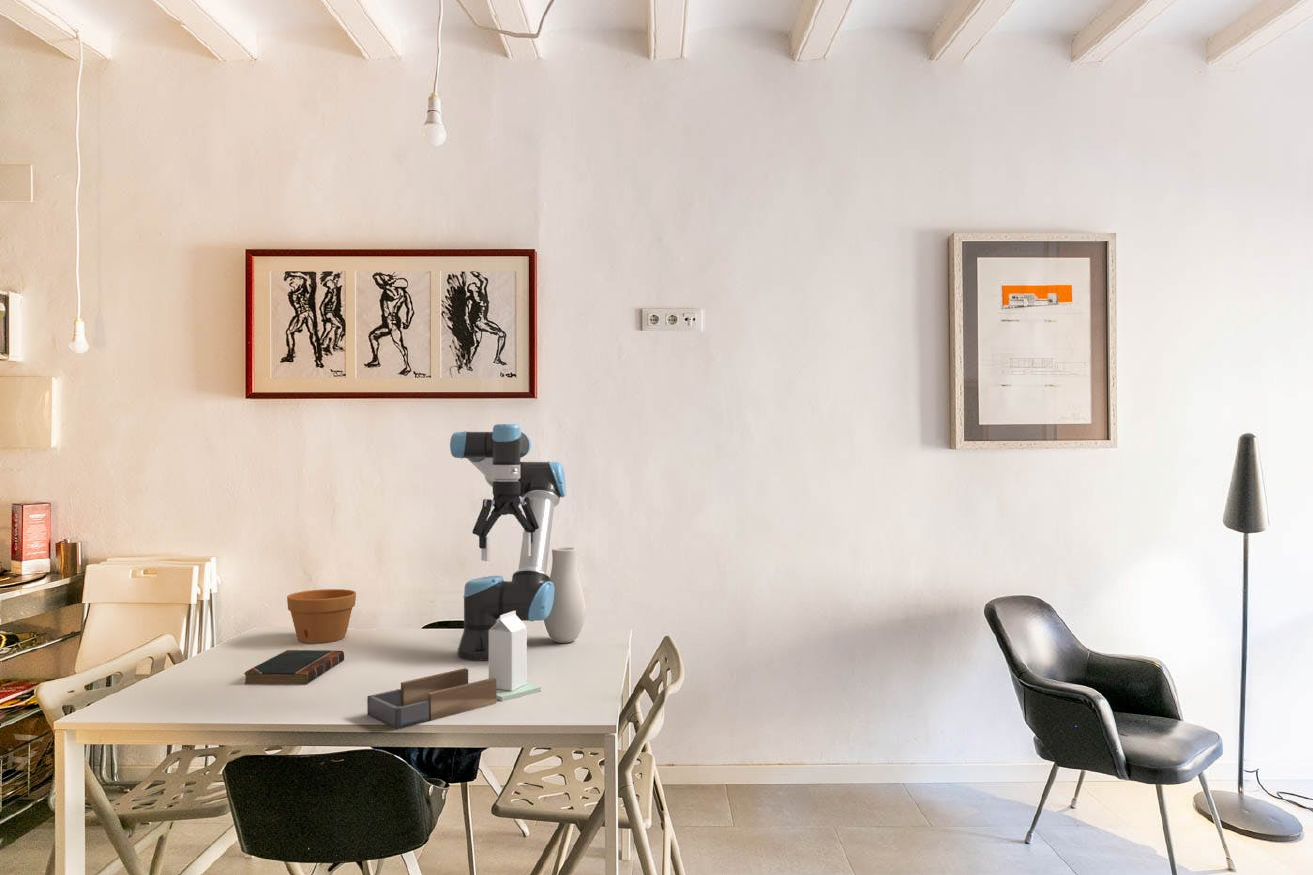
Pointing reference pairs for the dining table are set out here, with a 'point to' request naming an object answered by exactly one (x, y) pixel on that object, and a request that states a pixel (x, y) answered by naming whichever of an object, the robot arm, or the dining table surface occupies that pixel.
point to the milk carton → (508, 652)
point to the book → (294, 667)
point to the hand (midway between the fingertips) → (506, 558)
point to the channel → (449, 693)
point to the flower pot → (321, 614)
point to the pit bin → (396, 710)
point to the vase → (565, 597)
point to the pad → (516, 692)
